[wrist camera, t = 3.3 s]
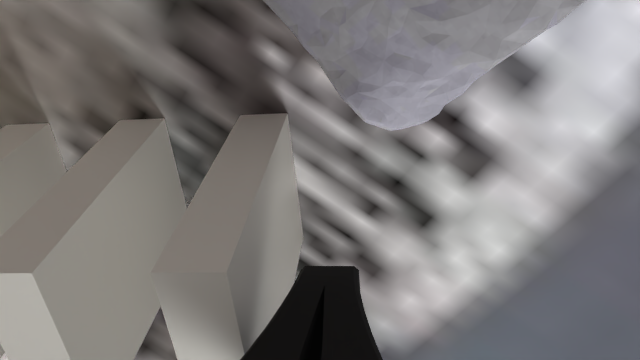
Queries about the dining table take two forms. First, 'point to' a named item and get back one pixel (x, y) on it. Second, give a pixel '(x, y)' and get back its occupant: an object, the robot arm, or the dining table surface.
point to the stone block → (413, 48)
